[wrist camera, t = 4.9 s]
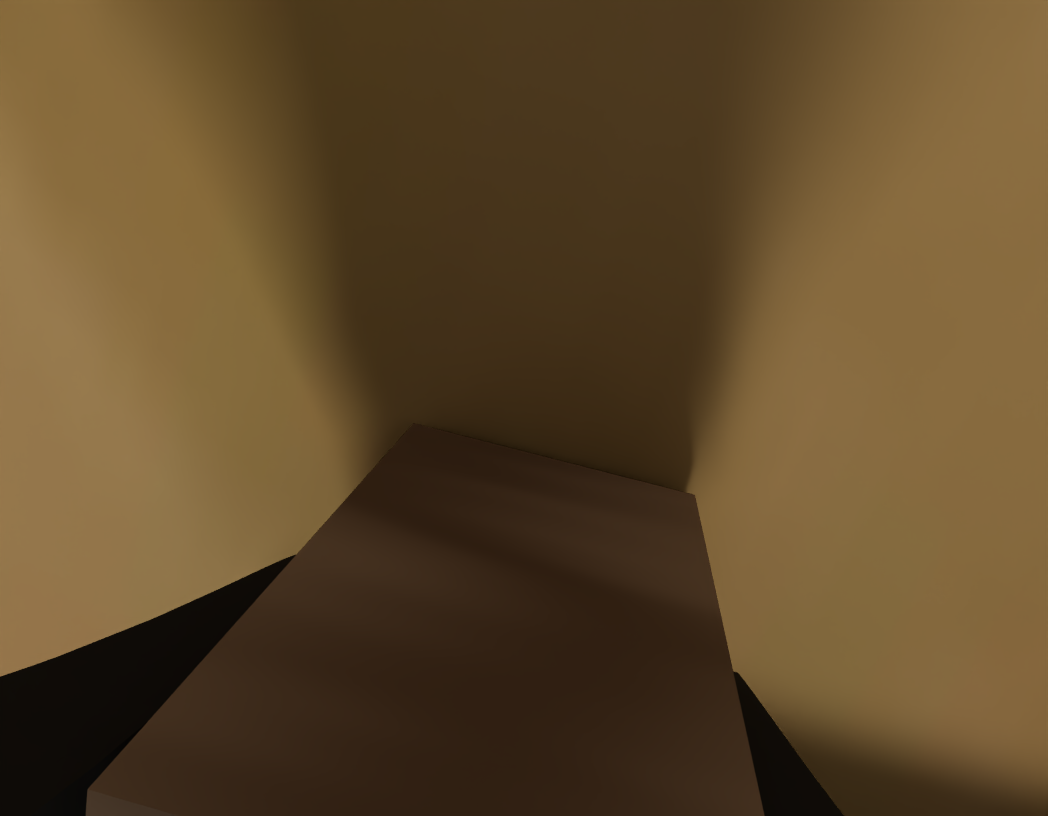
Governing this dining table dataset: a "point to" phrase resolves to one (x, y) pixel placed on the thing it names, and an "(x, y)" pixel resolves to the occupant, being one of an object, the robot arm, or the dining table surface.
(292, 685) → the walnut peg
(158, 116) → the dining table surface
